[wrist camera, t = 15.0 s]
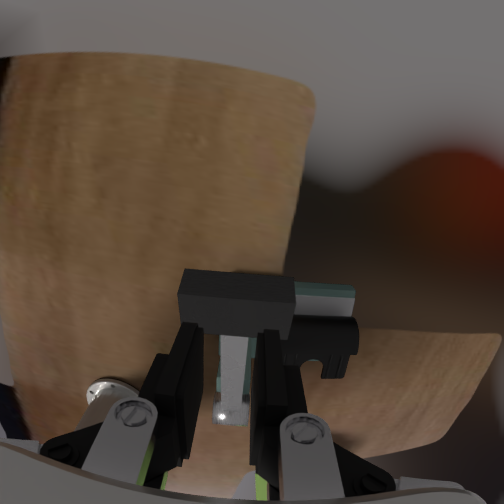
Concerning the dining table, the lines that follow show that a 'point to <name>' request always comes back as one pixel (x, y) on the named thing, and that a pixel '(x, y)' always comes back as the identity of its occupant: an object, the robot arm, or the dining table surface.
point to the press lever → (235, 325)
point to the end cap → (322, 342)
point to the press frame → (307, 303)
